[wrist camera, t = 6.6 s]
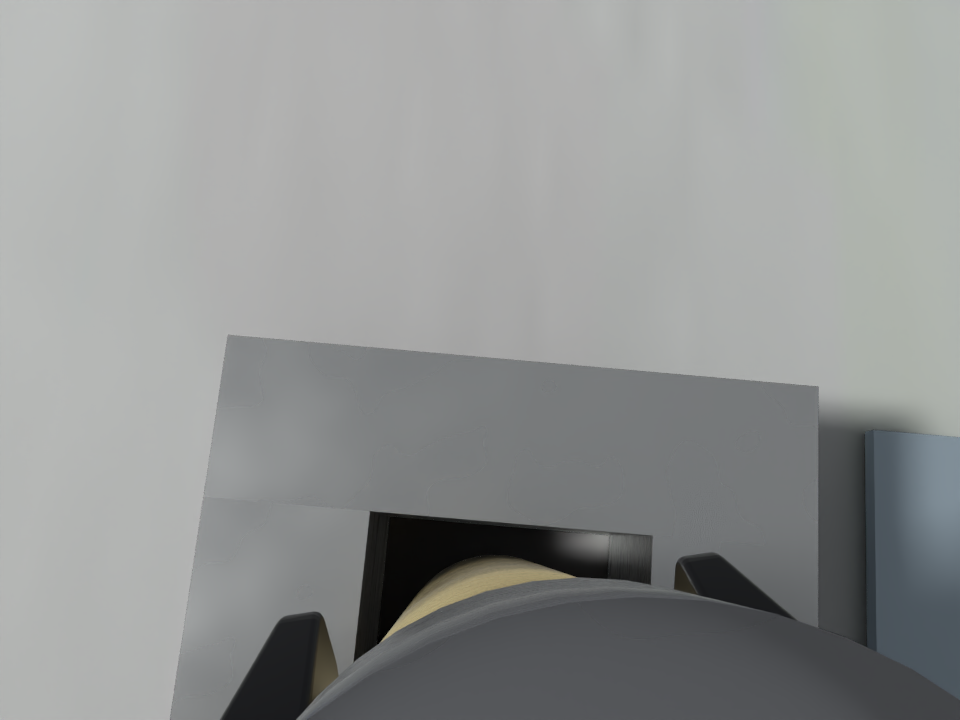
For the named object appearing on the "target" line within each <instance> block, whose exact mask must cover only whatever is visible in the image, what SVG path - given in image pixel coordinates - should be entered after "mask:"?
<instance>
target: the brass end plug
mask: <svg viewBox="0 0 960 720" xmlns="http://www.w3.org/2000/svg"><path fill="white" fill-rule="evenodd" d="M296 720H960V700H959V699H958V698H956V697H955V696H953V695H951V694H950V693H948V692H947V691H945V690H944V689H942V688H941V687H939V686H937V685H936V684H934V683H933V682H931V681H930V680H928V679H927V678H925V677H924V676H922V675H920V674H919V673H917V672H916V671H914V670H913V669H911V668H909V667H907V666H905V665H903V664H901V663H898V662H896V661H894V660H892V659H890V658H888V657H886V656H884V655H882V654H880V653H878V652H876V651H874V650H872V649H869V648H867V647H865V646H863V645H861V644H859V643H857V642H855V641H853V640H851V639H849V638H847V637H844V636H841V635H838V634H835V633H832V632H829V631H826V630H823V629H820V628H817V627H814V626H811V625H808V624H805V623H802V622H799V621H796V620H793V619H790V618H787V617H784V616H781V615H778V614H774V613H770V612H766V611H762V610H758V609H753V608H749V607H745V606H741V605H737V604H733V603H728V602H724V601H720V600H716V599H712V598H708V597H703V596H699V595H695V594H691V593H687V592H683V591H678V590H674V589H670V588H664V587H659V586H654V585H649V584H644V583H638V582H633V581H628V580H616V579H598V578H579V577H578V578H577V577H574V576H571V575H568V574H565V573H563V572H560V571H557V570H554V569H551V568H548V567H545V566H542V565H539V564H536V563H533V562H530V561H527V560H524V559H521V558H517V557H512V556H507V555H482V556H477V557H472V558H468V559H465V560H462V561H460V562H457V563H455V564H453V565H451V566H449V567H447V568H445V569H444V570H442V571H441V572H440V573H438V574H437V575H435V576H434V577H433V578H432V579H431V580H430V581H429V582H428V583H426V584H425V585H424V587H423V588H422V589H421V590H420V591H419V593H418V594H417V595H416V596H415V598H414V599H413V600H412V602H411V603H410V604H409V606H408V607H407V608H406V609H405V611H404V612H403V613H402V615H401V616H400V617H399V619H398V620H397V621H396V623H395V624H394V625H393V627H392V628H391V629H390V630H389V632H388V633H387V634H386V636H385V637H384V638H383V640H382V641H381V642H380V643H379V644H378V645H376V646H375V647H374V648H372V649H371V650H369V651H368V652H367V653H365V654H364V655H362V656H361V657H359V658H358V659H357V660H356V661H355V662H353V663H352V664H351V665H350V666H349V667H348V668H347V669H346V670H345V671H344V672H343V673H342V674H340V675H339V676H338V677H337V678H336V679H335V680H334V681H333V682H332V683H331V684H330V685H328V686H327V687H326V688H325V689H324V690H323V691H322V692H321V693H320V694H319V695H318V696H317V697H316V698H315V699H314V700H313V702H312V703H311V704H310V705H309V706H308V707H307V708H306V709H305V710H304V712H303V713H302V714H301V715H300V716H299V717H298V718H297V719H296Z"/></svg>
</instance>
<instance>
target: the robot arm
mask: <svg viewBox="0 0 960 720" xmlns="http://www.w3.org/2000/svg"><path fill="white" fill-rule="evenodd" d="M674 590H678V591H683V592H687V593H691V594H695V595H699V596H703V597H708V598H712V599H716V600H720V601H724V602H728V603H733V604H737V605H741V606H745V607H749V608H753V609H758V610H762V611H766V612H770V613H774V614H778V615H781V616H784V617H787V618H790V619H793V620H796V621H798V620H797V619H796V618H795V617H794V616H792V615H791V614H790V613H789V612H788V611H786V610H785V609H784V608H783V607H782V606H781V605H779V604H778V603H777V602H776V601H775V600H773V599H772V598H771V597H770V596H769V595H767V594H766V593H765V592H764V591H763V590H762V589H760V588H759V587H758V586H757V585H756V584H754V583H753V582H752V581H751V580H750V579H749V578H747V577H746V576H745V575H744V574H743V573H741V572H740V571H739V570H738V569H737V568H736V567H734V566H733V565H732V564H731V563H730V562H728V561H727V560H726V559H725V558H724V557H722V556H721V555H719V554H717V553H714V552H708V553H701V554H694V555H688V556H683V557H680V558H679V559H678V561H677V563H676V566H675V579H674ZM338 676H339V675H338V668H337V663H336V659H335V655H334V651H333V648H332V644H331V641H330V637H329V634H328V630H327V626H326V623H325V620H324V617H323V616H322V614H321V613H319V612H315V611H313V612H306V613H300V614H293V615H287V616H284V617H282V618H281V619H280V620H279V621H278V622H277V623H276V625H275V626H274V628H273V630H272V632H271V633H270V635H269V637H268V638H267V640H266V642H265V643H264V645H263V647H262V649H261V650H260V652H259V654H258V655H257V657H256V659H255V661H254V662H253V664H252V666H251V667H250V669H249V671H248V672H247V674H246V676H245V678H244V679H243V681H242V683H241V684H240V686H239V688H238V689H237V691H236V693H235V695H234V696H233V698H232V700H231V701H230V703H229V705H228V707H227V708H226V710H225V712H224V713H223V715H222V717H221V718H220V720H296V719H297V718H298V717H299V716H300V715H301V714H302V713H303V712H304V710H305V709H306V708H307V707H308V706H309V705H310V704H311V703H312V702H313V700H314V699H315V698H316V697H317V696H318V695H319V694H320V693H321V692H322V691H323V690H324V689H325V688H326V687H327V686H328V685H330V684H331V683H332V682H333V681H334V680H335V679H336V678H337V677H338Z"/></svg>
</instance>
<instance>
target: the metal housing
mask: <svg viewBox="0 0 960 720" xmlns="http://www.w3.org/2000/svg"><path fill="white" fill-rule="evenodd" d="M390 516H391V517H402V518H414V519H425V520H437V521H448V522H460V523H472V524H483V525H495V526H506V527H518V528H530V529H541V530H553V531H564V532H576V533H587V534H599V535H610V536H609V556H608V575H607V579H616V580H628V581H633V582H638V583H644V584H649V585H654V586H659V587H664V588H670V589H674V579H675V566H676V563H677V561H678V559H679V558H680V557H683V556H688V555H694V554H701V553H708V552H714V553H717V554H719V555H721V556H722V557H724V558H725V559H726V560H727V561H728V562H730V563H731V564H732V565H733V566H734V567H736V568H737V569H738V570H739V571H740V572H741V573H743V574H744V575H745V576H746V577H747V578H749V579H750V580H751V581H752V582H753V583H754V584H756V585H757V586H758V587H759V588H760V589H762V590H763V591H764V592H765V593H766V594H767V595H769V596H770V597H771V598H772V599H773V600H775V601H776V602H777V603H778V604H779V605H781V606H782V607H783V608H784V609H785V610H786V611H788V612H789V613H790V614H791V615H792V616H794V617H795V618H796V619H797V620H798V621H799V622H802V623H805V624H808V625H811V626H814V627H817V628H818V386H806V385H795V384H783V383H772V382H760V381H749V380H738V379H726V378H715V377H703V376H692V375H681V374H669V373H658V372H646V371H635V370H624V369H612V368H601V367H589V366H578V365H566V364H555V363H544V362H532V361H521V360H509V359H498V358H487V357H475V356H464V355H452V354H441V353H429V352H418V351H407V350H395V349H384V348H372V347H361V346H350V345H338V344H327V343H315V342H304V341H293V340H281V339H270V338H258V337H247V336H235V335H228V337H227V344H226V350H225V357H224V364H223V370H222V377H221V384H220V390H219V397H218V403H217V410H216V417H215V423H214V430H213V437H212V443H211V450H210V456H209V463H208V470H207V476H206V483H205V490H204V496H203V503H202V510H201V516H200V523H199V529H198V536H197V543H196V549H195V556H194V563H193V569H192V576H191V582H190V589H189V596H188V602H187V609H186V616H185V622H184V629H183V635H182V642H181V649H180V655H179V662H178V669H177V675H176V682H175V689H174V695H173V702H172V708H171V715H170V720H220V718H221V717H222V715H223V713H224V712H225V710H226V708H227V707H228V705H229V703H230V701H231V700H232V698H233V696H234V695H235V693H236V691H237V689H238V688H239V686H240V684H241V683H242V681H243V679H244V678H245V676H246V674H247V672H248V671H249V669H250V667H251V666H252V664H253V662H254V661H255V659H256V657H257V655H258V654H259V652H260V650H261V649H262V647H263V645H264V643H265V642H266V640H267V638H268V637H269V635H270V633H271V632H272V630H273V628H274V626H275V625H276V623H277V622H278V621H279V620H280V619H281V618H282V617H284V616H287V615H293V614H300V613H306V612H313V611H315V612H319V613H321V614H322V616H323V617H324V620H325V623H326V626H327V630H328V634H329V637H330V641H331V644H332V648H333V651H334V655H335V659H336V663H337V668H338V675H340V674H342V673H343V672H344V671H345V670H346V669H347V668H348V667H349V666H350V665H351V664H352V663H353V662H355V661H356V660H357V659H358V658H359V657H361V656H362V655H364V654H365V653H367V652H368V651H369V650H371V649H372V648H374V647H375V646H376V645H377V636H378V627H379V617H380V608H381V598H382V588H383V579H384V569H385V560H386V550H387V541H388V531H389V522H390Z"/></svg>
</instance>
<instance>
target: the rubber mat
mask: <svg viewBox="0 0 960 720" xmlns="http://www.w3.org/2000/svg"><path fill="white" fill-rule="evenodd" d="M865 492H866V586H867V648H869V649H872V650H874V651H876V652H878V653H880V654H882V655H884V656H886V657H888V658H890V659H892V660H894V661H896V662H898V663H901V664H903V665H905V666H907V667H909V668H911V669H913V670H914V671H916V672H917V673H919V674H920V675H922V676H924V677H925V678H927V679H928V680H930V681H931V682H933V683H934V684H936V685H937V686H939V687H941V688H942V689H944V690H945V691H947V692H948V693H950V694H951V695H953V696H955V697H956V698H958V699H959V700H960V437H950V436H939V435H927V434H916V433H905V432H893V431H882V430H871V431H867V432H865Z"/></svg>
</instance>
